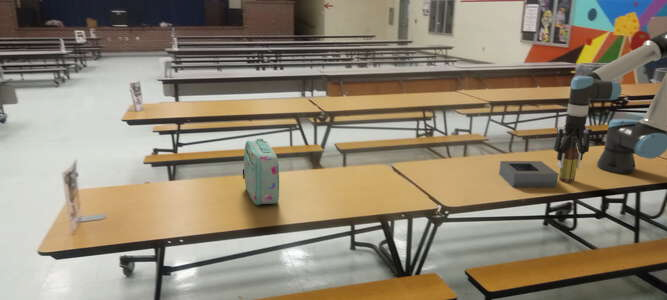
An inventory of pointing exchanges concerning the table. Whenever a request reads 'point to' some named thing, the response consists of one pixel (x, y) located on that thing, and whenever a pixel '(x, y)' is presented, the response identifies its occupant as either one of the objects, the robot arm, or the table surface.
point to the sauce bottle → (569, 161)
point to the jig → (528, 174)
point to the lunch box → (261, 172)
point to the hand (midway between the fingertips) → (568, 167)
